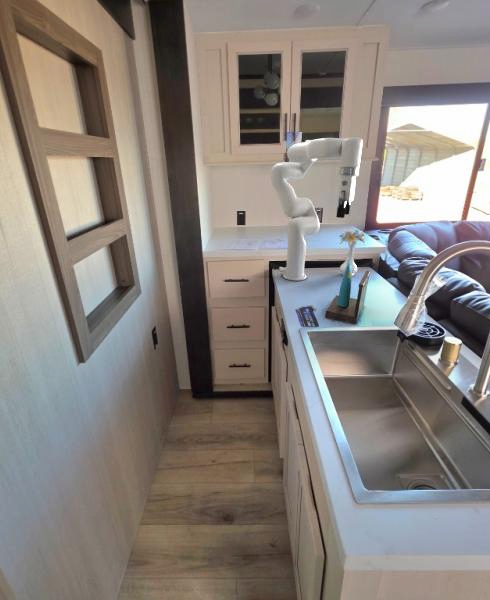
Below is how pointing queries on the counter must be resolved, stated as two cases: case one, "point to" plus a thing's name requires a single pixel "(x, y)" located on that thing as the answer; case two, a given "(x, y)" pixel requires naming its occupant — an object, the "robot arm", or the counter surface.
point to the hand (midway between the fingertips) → (342, 215)
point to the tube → (345, 287)
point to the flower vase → (351, 248)
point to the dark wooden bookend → (354, 308)
